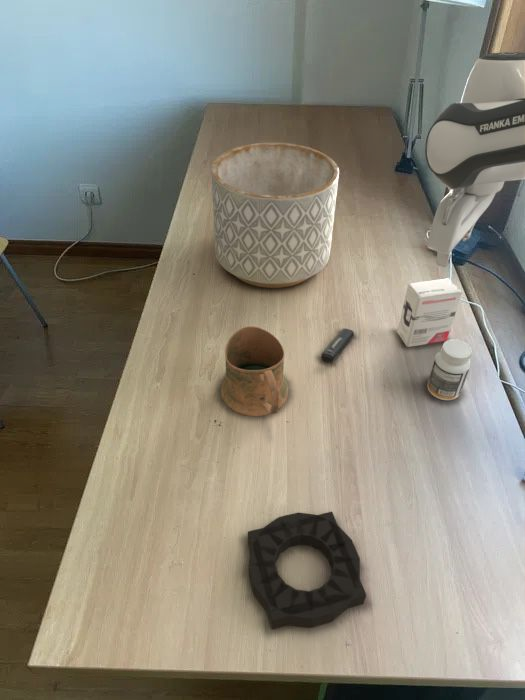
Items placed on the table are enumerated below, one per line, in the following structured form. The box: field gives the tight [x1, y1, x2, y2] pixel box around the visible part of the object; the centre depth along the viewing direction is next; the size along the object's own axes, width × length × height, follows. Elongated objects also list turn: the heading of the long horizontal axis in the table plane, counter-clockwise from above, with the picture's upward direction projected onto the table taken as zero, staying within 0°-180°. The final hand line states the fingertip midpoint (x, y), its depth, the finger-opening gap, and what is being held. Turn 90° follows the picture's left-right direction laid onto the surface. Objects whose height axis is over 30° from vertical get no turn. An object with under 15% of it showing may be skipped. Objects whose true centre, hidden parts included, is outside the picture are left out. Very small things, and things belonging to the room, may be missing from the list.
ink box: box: [396, 277, 463, 348], centre depth 105 cm, size 8×5×12 cm, turn 104°
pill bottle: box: [427, 338, 473, 401], centre depth 95 cm, size 6×6×10 cm
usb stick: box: [321, 328, 355, 363], centre depth 106 cm, size 10×3×2 cm, turn 147°
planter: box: [211, 142, 340, 289], centre depth 120 cm, size 26×26×22 cm
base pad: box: [247, 511, 367, 630], centre depth 73 cm, size 14×14×2 cm
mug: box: [220, 325, 289, 417], centre depth 91 cm, size 12×18×12 cm, turn 15°
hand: (452, 251), depth 93 cm, fingers open, 8 cm apart
